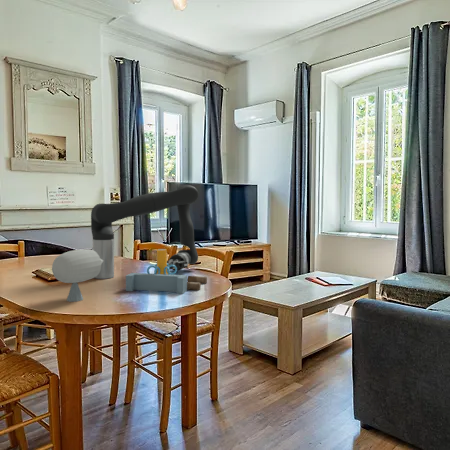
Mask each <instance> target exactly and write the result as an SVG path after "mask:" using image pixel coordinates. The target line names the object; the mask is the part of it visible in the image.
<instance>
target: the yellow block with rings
mask: <svg viewBox="0 0 450 450" xmlns="http://www.w3.org/2000/svg"><path fill="white" fill-rule="evenodd" d="M167 255H168V252H167V248H158V249H156V264H155V265H150V266H148V267H147V268H146V274H152V273H151V272H150V269H151V268H154V270H153V274H167V275H176V273H177V272H178V271H177V267H176V266H175V265H169V264H168V263H167V261H168V259H167V257H168V256H167ZM167 266H168V267H167ZM171 266H173V267H174V268H175V270H173V272H171V270H169V269H170V267H171Z"/></svg>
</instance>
